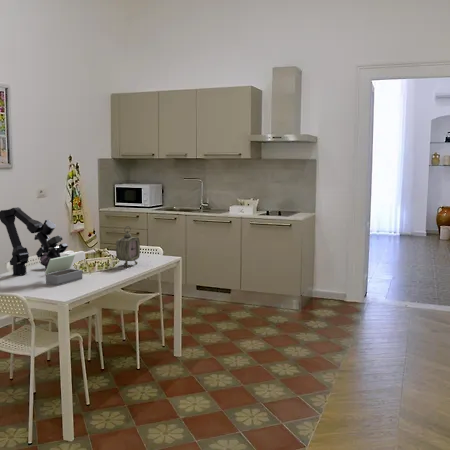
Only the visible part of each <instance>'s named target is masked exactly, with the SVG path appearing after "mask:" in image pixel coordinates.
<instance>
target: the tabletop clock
mask: <svg viewBox="0 0 450 450" xmlns="http://www.w3.org/2000/svg"><path fill="white" fill-rule="evenodd" d="M127 228H129V230H126V229H127ZM123 230H124V233H125V234H123V237H120V238H119V239H117V240H116V242H115V252H116V253H115V256H116V259H117V258H118V259H119V261H122V262H123V261H124V264H123V265H124V266H125V267H126V268H129V266H130V265H129V264H128V263H129V262H134V263H135V265H137V264H138V261H136V260H138V259H139V258H140V255H141V254H140V252H141V245H140V239H139V237H137V236H136V237H135V236H132V234H131V231H132V228H131V226H130V225H128V226H125V227H124V229H123ZM118 259H117V260H118Z"/></svg>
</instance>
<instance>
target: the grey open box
mask: <svg viewBox="0 0 450 450" xmlns="http://www.w3.org/2000/svg"><path fill="white" fill-rule="evenodd" d="M79 280H83V270H76V269H67V270H63V271H57V272H52V273H48V274H45V284H46V285H52V286H57V287H58V286H62V285H65V284H69V283H73V282H76V281H79Z"/></svg>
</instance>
